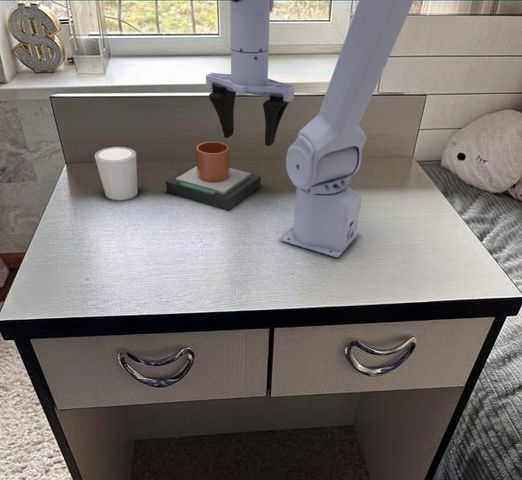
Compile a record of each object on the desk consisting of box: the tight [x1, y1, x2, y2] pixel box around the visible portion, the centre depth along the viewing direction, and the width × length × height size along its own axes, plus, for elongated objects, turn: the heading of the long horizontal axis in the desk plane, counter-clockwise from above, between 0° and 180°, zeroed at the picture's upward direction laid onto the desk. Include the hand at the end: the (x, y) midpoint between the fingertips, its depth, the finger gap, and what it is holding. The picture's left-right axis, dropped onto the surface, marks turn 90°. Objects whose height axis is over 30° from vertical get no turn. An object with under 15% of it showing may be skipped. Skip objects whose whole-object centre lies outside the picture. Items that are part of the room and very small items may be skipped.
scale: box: [165, 163, 261, 211], centre depth 94 cm, size 13×11×3 cm
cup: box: [195, 141, 231, 182], centre depth 91 cm, size 6×6×5 cm
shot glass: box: [94, 146, 139, 201], centre depth 90 cm, size 7×7×7 cm
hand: (248, 140), depth 88 cm, fingers open, 7 cm apart
